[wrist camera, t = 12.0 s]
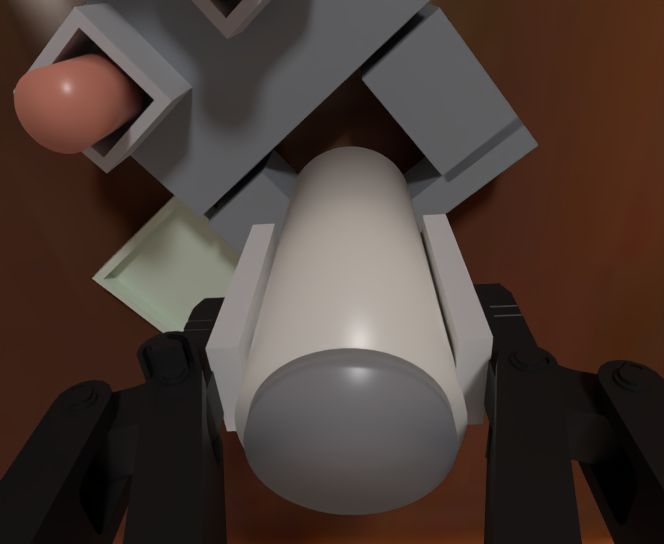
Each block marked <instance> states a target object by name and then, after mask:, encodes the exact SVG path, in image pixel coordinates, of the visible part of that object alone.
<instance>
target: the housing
mask: <svg viewBox="0 0 664 544" xmlns="http://www.w3.org/2000/svg"><path fill="white" fill-rule="evenodd" d="M428 1H429V0H86V2H85V3H84V5H82V6H75V7H74V8H73V10H72V11H71V12H70V14H69V15H68V17H67V18H66V19H65V21H64V22H63V24H62V25H61V26H60V28H59V29H58V30H57V32H56V33H55V35H54V36H53V37H52V39H51V40H50V41H49V43H48V44H47V46H46V47H45V48H44V50H43V51H42V53H41V54H40V55H39V57H38V58H37V59H36V61H35V62H34V64H33V65H32V66H31V68H30V69H29V71H31V70H34V69H38V68H41V67H44V66H48V65H51V64H55V63H58V62H62V61H65V60H69V59H72V58H76V57H79V56H83V55H86V54H90V53H93V52H98V51H104V52H105V53H106V54H107V55H108V56H109V57H110V58H111V59H112V60H113V61H114V62H116V63H117V64H118V65H119V66H120V67H121V68H122V69H123V70H124V71H125V72H126V73H127V74H128V75H129V76H130V77H131V78H132V79H133V80H134V81H135V82H136V83H137V84H138V85H139V86H140V87H141V88H142V89H144V103H143V107H142V109H141V111H140V112H139V114H138V115H137V116H136V117H135V118H134V119H132V120H131V121H129V122H127V123H126V124H124V125H123V126H121V127H120V128H118V129H116V130H115V131H113V132H112V133H110V134H109V135H107V136H105V137H104V138H102V139H101V140H99V141H98V142H96V143H95V144H93V145H91V146H90V147H88V148H87V149H85V150H83V151H81V152H82V153H84V154H85V155H86V156H87V157H88V158H89V159H90V160H92V161H93V162H94V163H95V164H96V165H97V166H99V167H100V168H101V169H102V170H103V171H104V172H106V173H108V172H109V171H111V170H112V169H113V168H114V167H116V166H117V165H118V164H119V163H121V162H122V161H123V160H125V159H126V158H127V157H128V156H131V157H132V158H134V159H135V160H136V161H137V162H138V163H139V164H140V165H141V166H143V167H144V168H145V169H146V170H147V171H148V172H149V173H150V174H151V175H153V176H154V177H155V178H156V179H157V180H158V181H159V182H160V183H161V184H163V185H164V186H165V187H166V188H167V189H168V190H169V191H170V192H171V193H173V194H174V195H175V196H176V197H177V198H178V199H179V200H180V201H182V202H183V203H184V204H185V205H186V206H187V207H188V208H189V209H190V210H192V211H193V212H194V213H195V214H196V215H197V216H198V217H199V218H200V217H201V216H202V215H203V214H204V213H205V212H206V211H208V210H209V209H210V208H211V207H212V206H213V205H214V204H215V203H216V202H217V201H218V200H219V199H220V198H221V197H222V196H223V195H224V194H225V193H227V192H228V191H229V190H230V189H231V188H232V187H233V186H234V185H235V184H236V183H237V182H238V181H239V180H240V179H241V178H242V177H243V176H244V175H246V174H247V173H248V172H249V171H250V170H251V169H252V168H253V167H254V166H255V165H256V164H257V163H258V162H259V161H260V160H261V159H262V158H263V157H265V156H266V155H267V154H268V153H269V152H270V151H271V150H272V149H273V148H274V147H275V146H276V145H277V144H278V143H279V142H280V141H281V140H283V139H284V138H285V137H286V136H287V135H288V134H289V133H290V132H291V131H292V130H293V129H294V128H295V127H296V126H297V125H298V124H299V123H300V122H302V121H303V120H304V119H305V118H306V117H307V116H308V115H309V114H310V113H311V112H312V111H313V110H314V109H315V108H316V107H317V106H318V105H319V104H321V103H322V102H323V101H324V100H325V99H326V98H327V97H328V96H329V95H330V94H331V93H332V92H333V91H334V90H335V89H336V88H337V87H338V86H340V85H341V84H342V83H343V82H344V81H345V80H346V79H347V78H348V77H349V76H350V75H351V74H352V73H353V72H354V71H355V70H356V69H357V68H359V67H360V66H361V65H362V64H363V63H364V62H365V61H366V60H367V59H368V58H369V57H370V56H371V55H372V54H373V53H374V52H375V51H376V50H378V49H379V48H380V47H381V46H382V45H383V44H384V43H385V42H386V41H387V40H388V39H389V38H390V37H391V36H392V35H393V34H394V33H396V32H397V31H398V30H399V29H400V28H401V27H402V26H403V25H404V24H405V23H406V22H407V21H408V20H409V19H410V18H411V17H412V16H413V15H415V14H416V13H417V12H418V11H419V10H420V9H421V8H422V7H423V6H424V5H425V4H426V3H427V2H428ZM361 70H362V80H363V81H364V83H365V84H366V85H367V86H368V87H369V89H370V90H371V91H372V92H373V93H374V95H375V96H376V97H377V98H378V99H379V101H380V102H381V103H382V104H383V105H384V107H385V108H386V109H387V110H388V111H389V113H390V114H391V115H392V116H393V117H394V119H395V120H396V121H397V122H398V123H399V125H400V126H401V127H402V128H403V129H404V131H405V132H406V133H407V134H408V135H409V137H410V138H411V139H412V140H413V141H414V143H415V144H416V145H417V146H418V147H419V149H420V150H421V151H422V152H423V153H424V155H425V157H424V158H423V159H422V160H420V161H419V162H418V163H417V164H416V165H414V166H413V167H412V168H411V169H409V170H408V171H407V172H406V173H404V174H403V176H404V178H405V180H406V183H407V185H408V188H409V192H410V196H411V200H412V204H413V207H414V211H415V215H416V219H417V222H418V226H419V230H420V233H421V232H422V215H436V214H446V213H448V212H449V211H450V210H452V209H453V208H454V207H456V206H457V205H458V204H460V203H461V202H462V201H464V200H465V199H466V198H468V197H469V196H470V195H472V194H473V193H474V192H476V191H477V190H478V189H480V188H481V187H483V186H484V185H485V184H487V183H488V182H489V181H491V180H492V179H493V178H495V177H496V176H497V175H499V174H500V173H501V172H503V171H504V170H505V169H507V168H508V167H509V166H511V165H512V164H513V163H515V162H516V161H517V160H519V159H520V158H522V157H523V156H524V155H526V154H527V153H528V152H530V151H531V150H532V149H534V148H535V147H536V146H538V144H537V143H536V141H535V140H534V138H533V137H532V136H531V134H530V133H529V131H528V130H527V129H526V127H525V126H524V124H523V123H522V122H521V120H520V119H519V117H518V116H517V115H516V113H515V112H514V111H513V109H512V108H511V106H510V105H509V104H508V102H507V101H506V99H505V98H504V97H503V95H502V94H501V92H500V91H499V90H498V88H497V87H496V85H495V84H494V83H493V81H492V80H491V79H490V77H489V76H488V74H487V73H486V72H485V70H484V69H483V67H482V66H481V65H480V63H479V62H478V60H477V59H476V58H475V56H474V55H473V53H472V52H471V51H470V49H469V48H468V47H467V45H466V44H465V42H464V41H463V40H462V38H461V37H460V35H459V34H458V33H457V31H456V30H455V28H454V27H453V26H452V24H451V23H450V22H449V20H448V19H447V17H446V16H445V15H444V13H443V12H442V10H441V9H440V8H439V7H436V6H433V5H431V4H427V5H425V6H424V7H423V8H422V9H421V10H420V11H419V12H418V13H417V14H416V15H415V16H414V17H413V18H412V19H411V20H410V21H409V22H407V23H406V24H405V25H404V26H403V27H402V28H401V29H400V30H399V31H398V32H397V33H396V34H395V35H394V36H393V37H392V38H391V39H389V40H388V41H387V42H386V43H385V44H384V45H383V46H382V47H381V48H380V49H379V50H378V51H377V52H376V53H375V54H374V55H373V56H372V57H370V58H369V59H368V60H367V61H366V62H365V63H364V64H363V65H362V66H361ZM29 71H28V72H29ZM28 72H27V73H28ZM13 93H15V90H14V91H13ZM298 175H299V174H298V173H297V172H296V171H295V170H294V169H293V168H292V167H291V166H290V165H289V164H288V163H287V162H286V161H285V160H284V159H283V158H282V157H281V156H280V155H279V154H278V153H277V152H276V151H275V150H274V149H273V150H272V151H271V152H270V153H269V154H268V155H267V156H266V157H265V158H264V159H263V160H262V161H260V162H259V163H258V164H257V165H256V166H255V167H254V168H253V169H252V170H251V171H250V172H249V173H248V174H247V175H246V176H245V177H244V178H243V179H241V180H240V181H239V182H238V183H237V184H236V185H235V186H234V187H233V188H232V189H231V190H230V191H229V192H228V193H227V194H226V195H225V196H224V197H223V199H222V200H221V202H220V204H219V205H218V207H217V209H216V210H215V212H214V214H213V215H212V217H211V219H210V220H209V222H208V224H207V225H208V226H209V227H210V228H212V229H213V230H214V231H215V232H216V233H217V234H218V235H219V236H221V237H222V238H223V239H224V240H225V241H226V242H227V243H228V244H229V245H231V246H232V247H233V248H234V249H235V250H236V251H237V252H238V253H239V254H241V255H242V252H243V249H244V247H245V244H246V242H247V239H248V236H249V234H250V231H251V229H252V226H253V225H257V224H275V227H276V234H277V241H278V243H279V239H280V235H281V231H282V228H283V224H284V220H285V216H286V212H287V209H288V205H289V201H290V197H291V194H292V190H293V186H294V184H295V181H296V179H297V177H298Z"/></svg>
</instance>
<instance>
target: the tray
mask: <svg viewBox="0 0 664 544" xmlns="http://www.w3.org/2000/svg"><path fill="white" fill-rule="evenodd" d="M215 210H216V208H215V207H213V206H212V207H211V208H210V209H209V210H208V211H206V212H205V213H204V214H203V215H202V216H201V217H200V218H199V217H198V216H197V215H196V214H195V213H194V212H193V211H192V210H190V209H189V208H188V207H187V206H186V205H185V204H184V203H183V202H182V201H180V200H179V199H178V198H177V197H176V196H175V195H173V196H172V197H171V198H170V199H169V200H168V201H167V202H166V203H165V204H164V205H163V206H162V207H161V208H160V209H159V210H158V211H157V212H156V213H155V214H154V215H153V216H152V217H151V218H150V219H149V220H148V221H147V222H146V223H145V224H144V225H143V226H142V227H141V228H140V229H139V230H138V231H137V232H136V233H135V234H134V235H133V236H132V237H131V238H130V239H129V240H128V241H127V242H126V243H125V244H124V245H123V246H122V247H121V248H120V249H119V250H118V251H117V252H116V253H115V254H114V255H113V256H112V257H111V258H110V259H109V260H108V261H107V262H106V263H105V264H104V265H103V267H102V268H101V269H100V270H99V271H98V272H97V273H96V275H95V276H94V277H93V278H92V279H94V280H95V281H96V282H97V283H99V284H100V285H101V286H103V287H104V288H105V289H107V290H108V291H109V292H111V293H112V294H113V295H114V296H116V297H117V298H118V299H120V300H121V301H122V302H124V303H125V304H126V305H127V306H129V307H130V308H131V309H133V310H134V311H135V312H137V313H138V314H139V315H140V316H142V317H143V318H144V319H146V320H147V321H148V322H150V323H151V324H152V325H154V326H155V327H156V328H157V329H159V330H160V331H161V332H163V333H165V332H169V331H181V332H182V331H184V327H185V325H186V323H187V322H188V318H189V316H190V314H191V312H192V310H193V308H194V307H195V306H196V305H197V304H199V303H200V302H201V301H202V300H203V299H204V298H219V297H225V296H226V294H227V291H228V289H229V286H230V283H231V281H232V278H233V276H234V273H235V270H236V268H237V265H238V262H239V260H240V257H241V254H239V253H238V252H237V251H236V250H235V249H234V248H233V247H232V246H231V245H229V244H228V243H227V242H226V241H225V240H224V239H223V238H222V237H221V236H219V235H218V234H217V233H216V232H215V231H214V230H213V229H212V228H210V227H209V226H208V225H207V224H208V222H209V220H210V219H211V217H212V215H213V214H214V212H215Z"/></svg>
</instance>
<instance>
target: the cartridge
mask: <svg viewBox="0 0 664 544" xmlns="http://www.w3.org/2000/svg"><path fill="white" fill-rule="evenodd" d="M235 426H236V431H237V434H238V437H239V440H240V442H241V444H242V446H243V448H244V451H245V455H246V458H247V461H248V463H249V465H250V467H251V468H252V470H253V472H254V473H255V474H256V476H257V477H258V478H259V479H260V480H261V481H262V482H263V483H264V484H265V485H266V486H267V487H268V488H270V489H271V490H272V491H273V492H275V493H276V494H278V495H279V496H281V497H283V498H284V499H286V500H288V501H291V502H293V503H295V504H297V505H300V506H303V507H305V508H309V509H312V510H316V511H320V512H326V513H331V514H341V515H364V514H374V513H381V512H385V511H389V510H393V509H397V508H400V507H403V506H405V505H408V504H410V503H412V502H415V501H417V500H418V499H420V498H422V497H424V496H425V495H427V494H428V493H430V492H431V491H432V490H434V489H435V488H436V487H437V486H438V485H439V484H440V483H441V482H442V481H443V480H444V479H445V477H446V476H447V475H448V474H449V472H450V470H451V468H452V467H453V465H454V462H455V459H456V457H457V452H458V450H459V448H460V446H461V445H462V442H463V439H464V437H465V434H466V428H467V410H466V405H465V400H464V397H463V393H462V389H461V385H460V381H459V378H458V374H457V370H456V366H455V362H454V359H453V355H452V351H451V347H450V344H449V340H448V336H447V332H446V328H445V325H444V321H443V317H442V313H441V309H440V306H439V302H438V298H437V294H436V291H435V287H434V283H433V279H432V275H431V272H430V268H429V264H428V260H427V257H426V253H425V249H424V245H423V241H422V238H421V234H420V230H419V226H418V222H417V219H416V215H415V211H414V207H413V204H412V200H411V196H410V192H409V188H408V185H407V183H406V180H405V178H404V176H403V174H402V173H401V171H400V170H399V169H398V167H397V166H396V165H395V164H394V163H393V162H392V161H390V160H389V159H388V158H387V157H385V156H383V155H382V154H380V153H378V152H376V151H373V150H370V149H367V148H362V147H339V148H335V149H331V150H329V151H326V152H324V153H322V154H320V155H318V156H317V157H315V158H314V159H313V160H311V161H310V162H309V163H308V164H307V165H306V166H305V167H304V168H303V169H302V171H301V172H300V173H299V175H298V177H297V179H296V181H295V184H294V186H293V190H292V194H291V197H290V201H289V205H288V209H287V212H286V216H285V220H284V224H283V228H282V231H281V235H280V239H279V243H278V246H277V250H276V254H275V258H274V262H273V265H272V269H271V273H270V277H269V280H268V284H267V288H266V292H265V296H264V299H263V303H262V307H261V311H260V315H259V318H258V322H257V326H256V330H255V333H254V337H253V341H252V345H251V349H250V352H249V356H248V360H247V364H246V367H245V371H244V375H243V379H242V383H241V386H240V390H239V394H238V398H237V402H236V407H235Z"/></svg>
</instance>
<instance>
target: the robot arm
mask: <svg viewBox="0 0 664 544" xmlns="http://www.w3.org/2000/svg"><path fill="white" fill-rule="evenodd" d="M422 241H423V245H424V249H425V253H426V257H427V260H428V264H429V268H430V272H431V275H432V279H433V283H434V287H435V291H436V294H437V298H438V302H439V306H440V309H441V313H442V317H443V321H444V325H445V328H446V332H447V336H448V340H449V344H450V347H451V351H452V355H453V359H454V362H455V366H456V370H457V374H458V378H459V381H460V385H461V389H462V393H463V397H464V400H465V405H466V410H467V424H484V415H485V410H486V413H487V416H488V419H489V431H488V440H487V448H486V456H485V458H487V475H486V503H485V530H484V544H582V541H581V533H580V526H579V518H578V510H577V503H576V495H575V487H574V480H573V472H572V464H571V459H572V460H576V461H578V463H579V465H580V467H581V469H582V472H583V474H584V476H585V478H586V481H587V483H588V485H589V487H590V489H591V492H592V494H593V496H594V498H595V501H596V503H597V505H598V507H599V510H600V512H601V514H602V516H603V519H604V521H605V523H606V525H607V528H608V530H609V532H610V534H611V537H612V539H613V541H614V543H615V544H664V379H663V378H662V377H661V376H660V375H659V374H658V373H657V372H656V371H654V370H652V369H650V368H648V367H647V366H645V365H642V364H639V363H635V362H632V361H624V360H615V361H609V362H606V363H605V364H603V365H602V366H600V368H599V371H598V373H597V374H593V373H587V372H582V371H576V370H572V369H568V368H565V367H562V366H560V365H558V363H557V361H556V359H555V358H554V357H553V356H552V355H551V354H550V353H549V352H548V351H546V350H544V349H542V348H540V347H538V346H537V344H536V342H535V340H534V338H533V336H532V334H531V332H530V330H529V328H528V326H527V324H526V322H525V320H524V318H523V316H522V315H521V312H520V309H519V307H518V306H517V303H516V301H515V299H514V297H513V295H512V293H511V292H509V291H508V290H507V289H506V288H504V287H503V286H502V285H500V284H499V283H497V284H475V285H473V284H472V281H471V279H470V276H469V274H468V271H467V268H466V266H465V263H464V261H463V258H462V255H461V253H460V250H459V248H458V245H457V243H456V240H455V237H454V235H453V232H452V230H451V227H450V225H449V222H448V219H447V217H446V214H436V215H422ZM277 246H278V241H277V234H276V227H275V224H257V225H253V226H252V229H251V231H250V234H249V236H248V239H247V242H246V244H245V247H244V249H243V252H242V255H241V257H240V260H239V262H238V265H237V268H236V270H235V273H234V276H233V278H232V281H231V283H230V286H229V289H228V291H227V294H226V296H225V297H219V298H204V299H203V300H202V301H201V302H200V303H199V304H197V305H196V306H195V307H194V308H193V310H192V312H191V314H190V316H189V318H188V322H187V323H186V325H185V327H184V331H182V332H181V331H169V332H165V333H161V334H158V335H156V336H154V337H152V338H150V339H148V340H147V341H146V342H145V343H143V344H142V345H141V346H140V348H139V350H138V352H137V357H138V360H139V363H140V365H141V368H142V371H143V374H144V377H145V380H146V383H144V384H141V385H138V386H136V387H132V388H128V389H124V390H121V391H117V392H112V390H111V387H110V385H109V384H107V383H106V382H104V381H98V380H92V381H86V382H82V383H79V384H77V385H74V386H72V387H70V388H69V389H67V390H66V391H64V392H63V393H61V394H60V395H59V396H58V398H57V399H56V400H55V401H54V402H53V404H52V405H51V407H50V408H49V410H48V411H47V412H46V414H45V415H44V417H43V418H42V420H41V421H40V423H39V424H38V426H37V427H36V429H35V430H34V432H33V433H32V435H31V436H30V438H29V439H28V441H27V442H26V444H25V445H24V447H23V448H22V450H21V451H20V453H19V454H18V456H17V457H16V459H15V460H14V462H13V463H12V465H11V466H10V468H9V469H8V471H7V472H6V474H5V475H4V476H3V478H2V479H1V481H0V544H112V543H113V541H114V538H115V536H116V533H117V531H118V528H119V526H120V524H121V521H122V519H123V516H124V514H125V511H126V509H127V506H128V511H127V518H126V525H125V532H124V539H123V544H227V536H226V514H225V491H224V468H223V445H222V440H221V437H220V433H219V430H220V426H221V423H222V419H223V417H224V421H225V425H226V429H227V431H236V426H235V407H236V402H237V398H238V394H239V390H240V386H241V383H242V379H243V375H244V371H245V367H246V364H247V360H248V356H249V352H250V349H251V345H252V341H253V337H254V333H255V330H256V326H257V322H258V318H259V315H260V311H261V307H262V303H263V299H264V296H265V292H266V288H267V284H268V280H269V277H270V273H271V269H272V265H273V262H274V258H275V254H276V250H277Z"/></svg>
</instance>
